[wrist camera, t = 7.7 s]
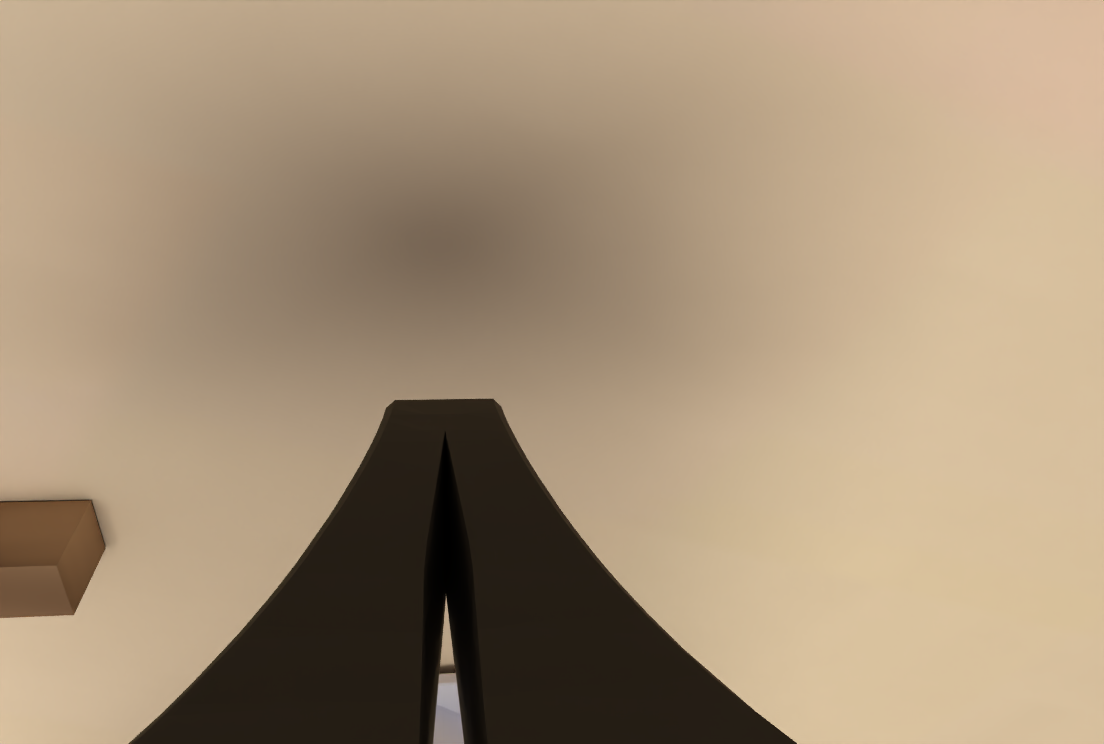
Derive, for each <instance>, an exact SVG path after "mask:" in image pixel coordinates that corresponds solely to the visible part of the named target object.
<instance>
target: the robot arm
mask: <svg viewBox="0 0 1104 744" xmlns="http://www.w3.org/2000/svg"><path fill="white" fill-rule="evenodd" d="M446 596H447V605H448V613H449V622H450V630H451V639H452V647H453V655H454V664H455V672H456V673H444V674H439V670H440V659H441V647H442V636H443V624H444V612H445V600H446ZM129 744H797V743H796V742H794V741H793V740H792V739H790V738H789V737H788V736H787V735H785V734H784V733H783V732H781V731H780V730H779V729H777V728H776V727H775V726H774V725H772V724H771V723H770V722H768V721H767V720H766V719H765V718H763V717H762V716H761V715H759V714H758V713H757V712H755V711H754V710H753V709H752V708H751V707H750V706H748V705H747V704H746V703H745V702H744V701H743V700H742V699H740V698H739V697H738V696H737V695H736V694H735V693H733V692H732V691H731V690H730V689H729V688H728V687H727V686H725V685H724V684H723V683H722V682H721V681H720V680H719V679H717V678H716V677H715V676H714V675H713V674H712V673H710V672H709V671H708V670H707V669H706V668H705V667H704V666H702V665H701V664H700V663H699V662H698V661H697V660H696V659H694V658H693V657H692V656H691V655H690V654H689V653H687V652H686V651H685V650H684V649H683V648H682V647H681V646H680V645H679V644H678V643H677V642H676V641H675V640H674V639H673V638H672V637H671V636H670V635H669V634H668V633H667V632H666V631H665V630H664V629H663V628H662V627H661V626H660V625H659V624H658V623H657V622H656V621H655V620H654V619H653V618H652V617H650V616H649V615H648V614H647V613H646V611H645V610H644V609H643V608H642V607H641V606H640V605H639V604H638V603H637V602H636V601H635V600H634V599H633V598H632V596H631V595H630V594H629V593H628V592H627V591H626V590H625V589H624V588H623V587H622V586H621V585H620V583H619V582H618V581H617V580H616V579H615V578H614V577H613V575H612V574H611V573H610V572H609V571H608V570H607V568H606V567H605V566H604V565H603V564H602V563H601V561H600V560H599V559H598V558H597V557H596V555H595V554H594V553H593V552H592V550H591V549H590V548H589V546H588V545H587V544H586V543H585V541H584V540H583V539H582V538H581V536H580V535H579V534H578V532H577V531H576V530H575V529H574V527H573V526H572V525H571V523H570V522H569V520H568V519H567V518H566V516H565V515H564V514H563V512H562V511H561V509H560V508H559V506H558V505H557V504H556V502H555V501H554V499H553V498H552V496H551V495H550V493H549V492H548V490H547V489H546V487H545V486H544V484H543V483H542V481H541V480H540V478H539V477H538V475H537V474H536V472H535V470H534V469H533V467H532V466H531V464H530V462H529V461H528V459H527V457H526V455H525V454H524V452H523V450H522V449H521V447H520V445H519V443H518V441H517V440H516V438H515V436H514V434H513V432H512V430H511V428H510V426H509V424H508V422H507V420H506V417H505V415H504V413H503V410H502V407H501V406H500V405H499V404H498V403H497V402H496V401H495V400H494V399H444V400H395V401H394V402H393V403H391V404H390V405H389V406H388V407H387V408H386V410H385V413H384V416H383V419H382V422H381V424H380V426H379V429H378V431H377V433H376V435H375V438H374V440H373V442H372V444H371V446H370V448H369V450H368V451H367V453H366V455H365V457H364V459H363V461H362V463H361V465H360V467H359V468H358V470H357V472H356V473H355V475H354V477H353V478H352V480H351V482H350V483H349V485H348V487H347V488H346V490H345V492H344V493H343V495H342V497H341V498H340V500H339V502H338V503H337V505H336V507H335V508H334V510H333V511H332V513H331V514H330V516H329V517H328V519H327V520H326V522H325V523H324V525H323V526H322V527H321V529H320V530H319V532H318V533H317V535H316V536H315V537H314V539H313V540H312V542H311V543H310V545H309V546H308V547H307V549H306V550H305V552H304V553H303V555H302V556H301V557H300V559H299V560H298V562H297V563H296V564H295V566H294V567H293V568H292V570H291V571H290V572H289V573H288V575H287V576H286V577H285V579H284V580H283V581H282V583H281V584H280V585H279V586H278V588H277V589H276V590H275V591H274V593H273V594H272V595H271V596H270V598H269V599H268V600H267V601H266V602H265V604H264V605H263V606H262V607H261V608H260V609H259V611H258V612H257V613H256V614H255V615H254V616H253V618H252V619H251V620H250V621H249V622H248V624H247V625H246V626H245V627H244V628H243V629H242V630H241V632H240V633H239V634H238V635H237V636H236V637H235V638H234V639H233V640H232V641H231V642H230V644H229V645H228V646H227V647H226V648H225V649H224V650H223V651H222V652H221V653H220V654H219V655H218V656H217V657H216V659H215V660H214V661H213V662H212V663H211V664H210V665H209V666H208V667H207V668H206V669H205V670H204V671H203V672H202V674H201V675H200V676H199V677H198V678H197V679H196V680H195V681H194V682H193V683H192V684H191V685H190V686H189V687H188V688H187V689H186V690H185V691H184V692H183V693H182V694H181V695H180V696H179V697H178V698H177V699H176V700H175V701H174V702H173V703H172V704H171V705H170V706H169V707H168V708H167V709H166V710H165V711H164V712H163V713H162V714H161V715H160V716H159V717H157V718H156V719H155V720H154V721H153V722H152V723H151V724H150V725H149V726H148V727H147V728H145V729H144V730H143V731H142V732H141V733H140V734H139V735H138V736H137V737H136V738H134V739H133V740H132V741H131V742H130V743H129Z"/></svg>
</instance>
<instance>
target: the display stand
mask: <svg viewBox="0 0 1104 744" xmlns="http://www.w3.org/2000/svg"><path fill="white" fill-rule="evenodd" d="M104 550H105V546H104V542H103V539H102V536H101V532H100V529H99V526H98V522H97V519H96V516H95V512H94V509H93V506H92V502H91V501H45V502H0V618H10V617H34V616H59V615H74V613H75V611H76V609H77V607H78V605H79V603H80V601H81V599H82V596H83V594H84V592H85V590H86V588H87V586H88V584H89V582H90V580H91V577H92V575H93V573H94V571H95V569H96V567H97V565H98V563H99V561H100V558H101V556H102V554H103V552H104Z"/></svg>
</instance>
